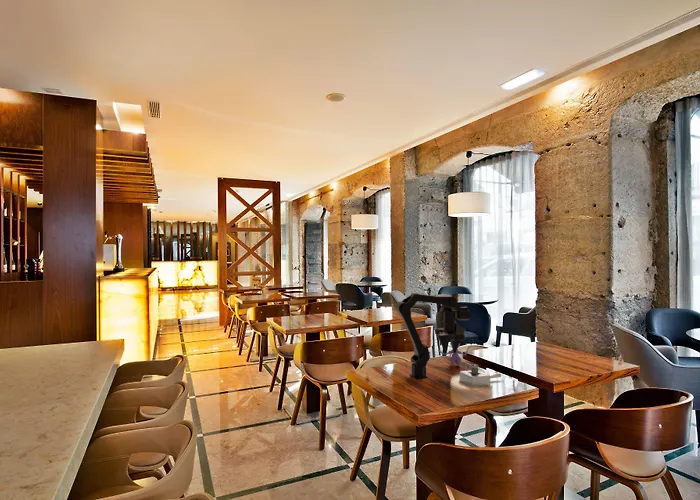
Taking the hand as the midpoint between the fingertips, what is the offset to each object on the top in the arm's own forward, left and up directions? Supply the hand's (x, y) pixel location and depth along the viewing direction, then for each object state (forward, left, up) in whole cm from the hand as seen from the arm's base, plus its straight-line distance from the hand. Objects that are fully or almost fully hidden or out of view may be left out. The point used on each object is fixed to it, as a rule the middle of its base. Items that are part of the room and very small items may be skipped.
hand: (449, 350), depth 203 cm
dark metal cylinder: (+5, -14, -12) cm, 19 cm away
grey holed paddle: (+10, -14, -13) cm, 21 cm away
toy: (+14, +15, -13) cm, 24 cm away
